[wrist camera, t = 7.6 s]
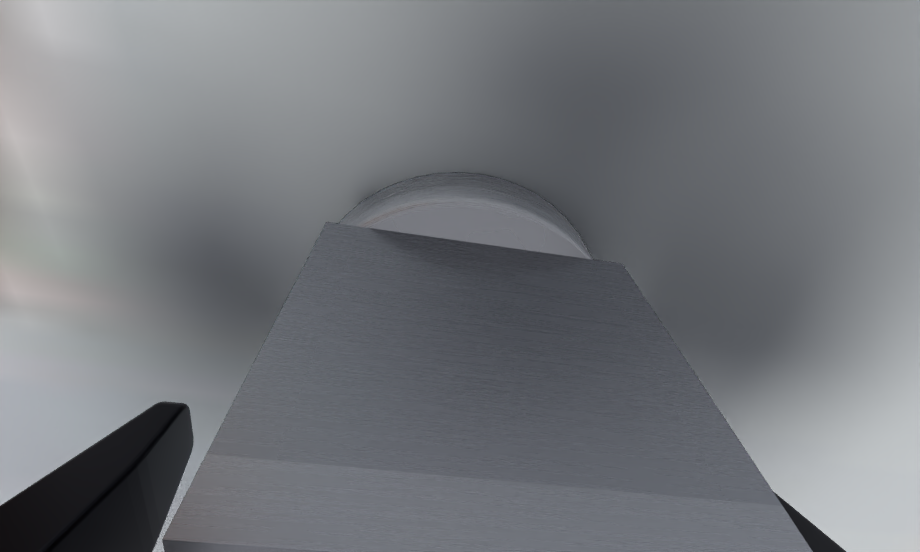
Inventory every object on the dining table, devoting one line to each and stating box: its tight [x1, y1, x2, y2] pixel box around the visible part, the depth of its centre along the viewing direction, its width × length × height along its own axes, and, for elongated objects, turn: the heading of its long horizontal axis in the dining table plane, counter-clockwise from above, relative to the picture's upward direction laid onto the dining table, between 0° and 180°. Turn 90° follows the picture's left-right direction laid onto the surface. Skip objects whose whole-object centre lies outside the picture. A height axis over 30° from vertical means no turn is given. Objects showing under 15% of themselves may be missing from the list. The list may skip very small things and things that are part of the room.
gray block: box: [162, 222, 813, 552], centre depth 8 cm, size 6×6×6 cm
